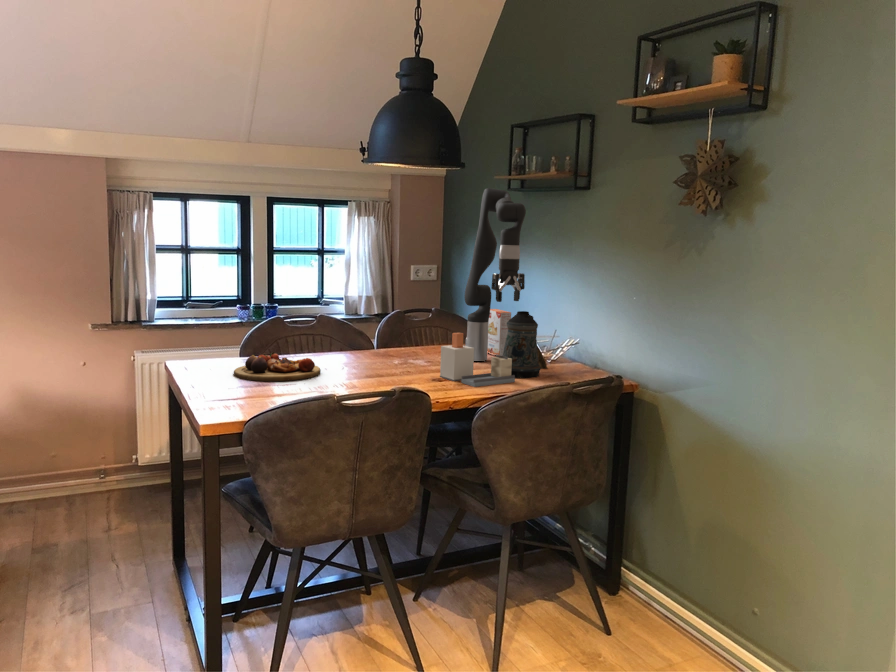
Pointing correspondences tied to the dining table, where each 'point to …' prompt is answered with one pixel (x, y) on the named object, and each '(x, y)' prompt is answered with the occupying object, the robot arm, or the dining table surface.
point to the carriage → (501, 366)
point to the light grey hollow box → (456, 362)
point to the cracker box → (497, 330)
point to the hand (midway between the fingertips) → (507, 301)
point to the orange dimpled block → (457, 340)
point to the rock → (541, 359)
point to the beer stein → (522, 345)
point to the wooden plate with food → (276, 368)
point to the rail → (486, 379)
